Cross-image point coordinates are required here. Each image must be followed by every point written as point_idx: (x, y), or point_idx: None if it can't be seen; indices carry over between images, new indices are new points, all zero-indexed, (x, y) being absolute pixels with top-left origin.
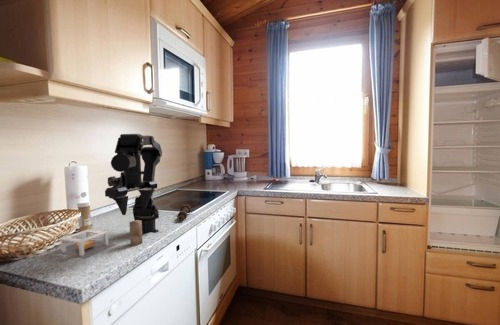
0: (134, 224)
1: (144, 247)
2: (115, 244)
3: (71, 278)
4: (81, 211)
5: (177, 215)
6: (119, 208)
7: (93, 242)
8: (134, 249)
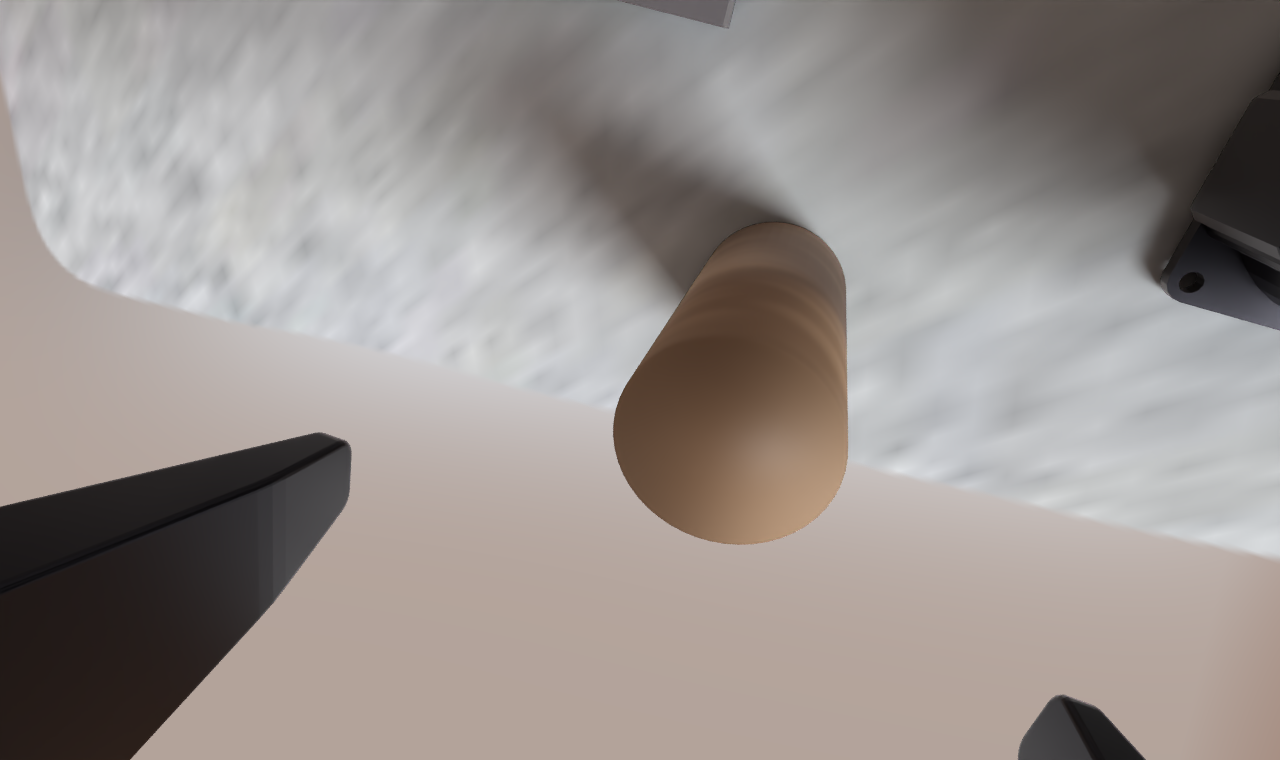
0: (627, 461)
1: None
2: (716, 4)
3: (72, 76)
4: None
5: None
6: (98, 489)
7: None
8: None
